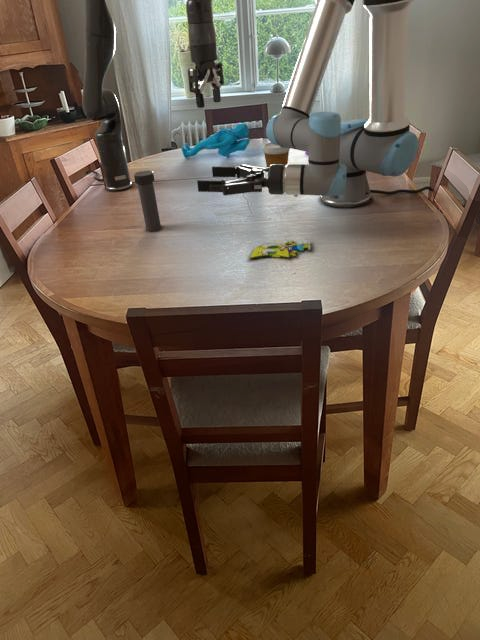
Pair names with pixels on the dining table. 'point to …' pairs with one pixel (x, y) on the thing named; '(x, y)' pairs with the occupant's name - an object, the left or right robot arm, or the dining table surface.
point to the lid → (144, 177)
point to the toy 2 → (279, 250)
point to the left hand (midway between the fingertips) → (209, 104)
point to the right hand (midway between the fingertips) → (205, 178)
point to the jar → (149, 207)
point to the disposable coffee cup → (275, 154)
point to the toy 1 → (222, 142)
